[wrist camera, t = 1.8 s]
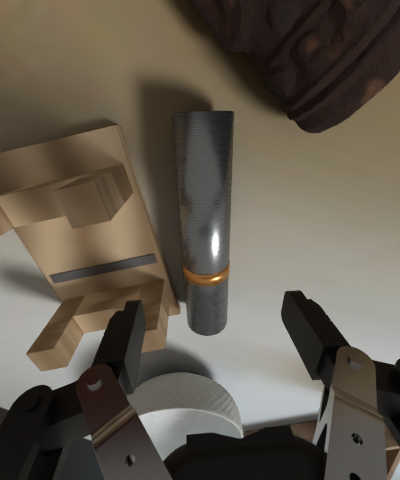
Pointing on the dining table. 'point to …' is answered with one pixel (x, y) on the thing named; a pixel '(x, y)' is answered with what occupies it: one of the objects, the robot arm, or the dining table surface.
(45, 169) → the cradle board
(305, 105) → the dark brown boot
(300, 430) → the planter box
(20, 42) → the dining table surface
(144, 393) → the cereal bowl
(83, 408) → the robot arm
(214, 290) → the tube
